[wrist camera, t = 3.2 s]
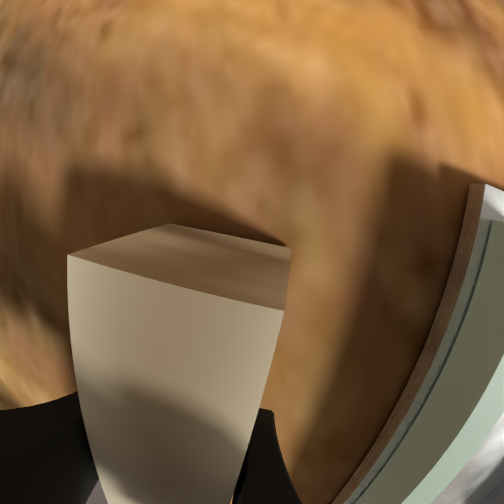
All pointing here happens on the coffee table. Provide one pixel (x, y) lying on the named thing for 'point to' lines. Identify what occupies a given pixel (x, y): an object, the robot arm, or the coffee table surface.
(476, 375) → the bar
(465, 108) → the coffee table surface
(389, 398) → the coffee table surface
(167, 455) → the wood bar
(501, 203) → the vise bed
